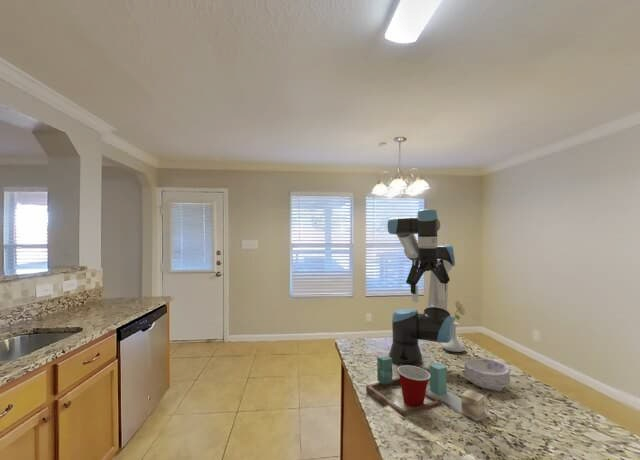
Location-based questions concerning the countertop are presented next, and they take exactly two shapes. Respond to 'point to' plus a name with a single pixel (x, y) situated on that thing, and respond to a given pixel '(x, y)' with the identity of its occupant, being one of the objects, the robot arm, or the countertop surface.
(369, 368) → the countertop surface
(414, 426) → the countertop surface
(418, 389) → the plastic cup
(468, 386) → the countertop surface
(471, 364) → the paper bowls
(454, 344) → the flower in vase
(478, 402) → the beech cube
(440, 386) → the sled
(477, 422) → the divider rail
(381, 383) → the frame
